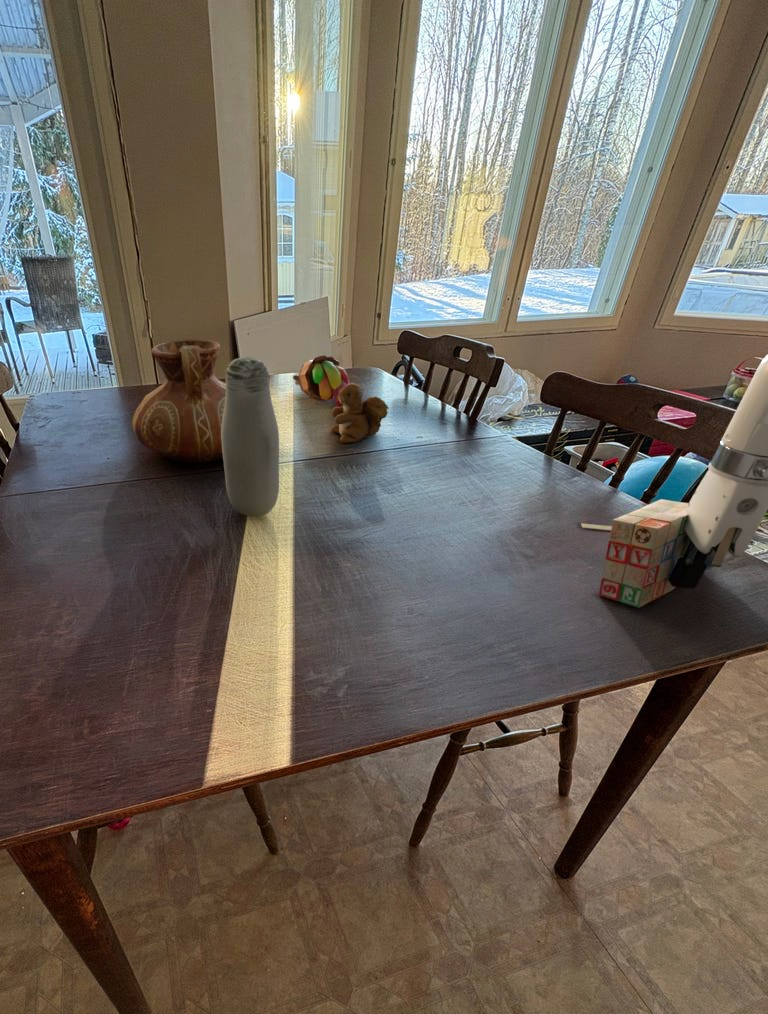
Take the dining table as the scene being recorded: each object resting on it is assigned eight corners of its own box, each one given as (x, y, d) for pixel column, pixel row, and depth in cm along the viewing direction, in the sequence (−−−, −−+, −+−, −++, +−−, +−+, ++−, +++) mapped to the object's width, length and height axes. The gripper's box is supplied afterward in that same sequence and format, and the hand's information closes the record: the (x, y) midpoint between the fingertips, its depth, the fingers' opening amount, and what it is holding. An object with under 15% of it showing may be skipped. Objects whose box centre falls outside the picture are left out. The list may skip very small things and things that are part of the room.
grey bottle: (219, 516, 105) (202, 360, 87) (251, 498, 111) (242, 349, 94) (258, 529, 100) (249, 367, 83) (289, 509, 107) (287, 355, 89)
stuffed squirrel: (328, 431, 144) (329, 379, 136) (379, 429, 145) (383, 376, 137) (334, 444, 136) (336, 389, 128) (387, 441, 137) (393, 386, 129)
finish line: (687, 534, 97) (687, 533, 96) (690, 538, 95) (690, 537, 95) (581, 524, 100) (581, 523, 100) (582, 528, 99) (582, 527, 99)
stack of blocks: (674, 557, 90) (693, 484, 84) (715, 566, 86) (739, 490, 80) (597, 595, 82) (612, 518, 76) (638, 608, 77) (658, 527, 71)
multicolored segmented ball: (326, 369, 178) (364, 355, 157) (321, 416, 183) (357, 410, 161) (285, 360, 173) (318, 346, 151) (281, 410, 177) (312, 403, 155)
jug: (118, 447, 136) (94, 337, 121) (214, 422, 151) (204, 322, 135) (178, 481, 119) (159, 358, 103) (281, 450, 133) (278, 337, 118)
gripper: (813, 488, 60) (729, 617, 71) (757, 443, 71) (692, 562, 83) (738, 482, 61) (667, 610, 73) (695, 439, 72) (639, 556, 84)
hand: (680, 584), depth 78 cm, fingers closed
